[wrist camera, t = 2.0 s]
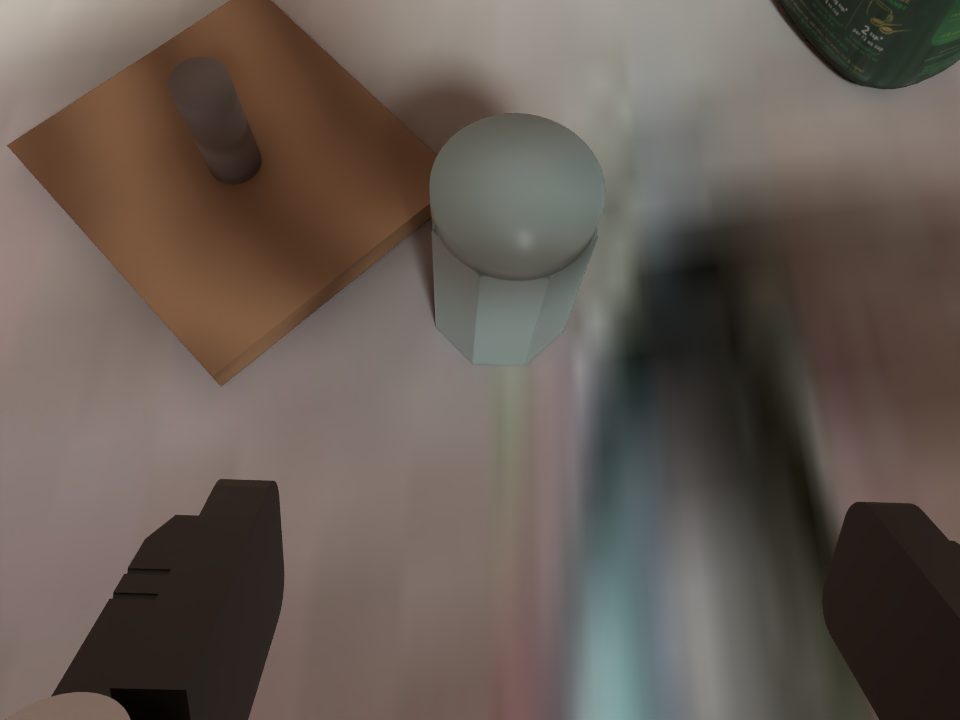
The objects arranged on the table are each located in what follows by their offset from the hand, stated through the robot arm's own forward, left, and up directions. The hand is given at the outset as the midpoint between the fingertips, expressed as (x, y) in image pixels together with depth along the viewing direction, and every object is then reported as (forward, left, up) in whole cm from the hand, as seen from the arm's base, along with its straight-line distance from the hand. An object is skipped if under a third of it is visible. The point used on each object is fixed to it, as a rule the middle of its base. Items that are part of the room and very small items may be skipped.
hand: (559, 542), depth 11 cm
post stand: (-4, -20, -18) cm, 28 cm away
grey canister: (-8, -8, -18) cm, 22 cm away
